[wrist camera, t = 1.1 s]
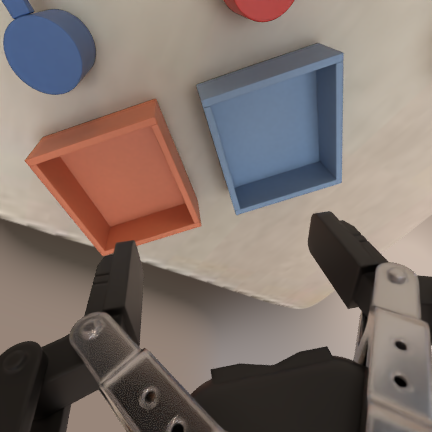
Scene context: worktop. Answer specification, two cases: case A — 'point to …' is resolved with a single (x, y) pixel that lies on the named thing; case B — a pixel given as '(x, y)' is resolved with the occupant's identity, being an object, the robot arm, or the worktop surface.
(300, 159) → the blue bin
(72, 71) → the blue scoop
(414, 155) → the worktop surface
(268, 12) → the red scoop
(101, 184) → the red bin
